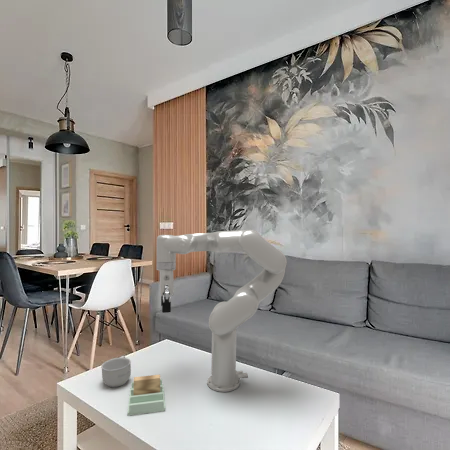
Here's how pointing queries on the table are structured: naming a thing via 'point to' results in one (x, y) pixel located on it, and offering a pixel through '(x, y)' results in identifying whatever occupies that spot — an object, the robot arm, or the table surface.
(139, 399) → the dish rack
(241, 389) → the table surface
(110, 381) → the teacup
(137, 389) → the oak board
